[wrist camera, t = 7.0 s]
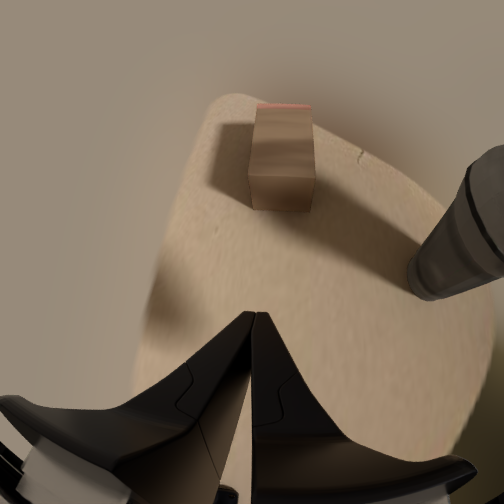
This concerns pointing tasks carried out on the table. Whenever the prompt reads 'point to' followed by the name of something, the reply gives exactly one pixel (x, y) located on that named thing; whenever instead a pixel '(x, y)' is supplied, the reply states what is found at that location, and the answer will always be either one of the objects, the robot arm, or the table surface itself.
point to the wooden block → (282, 158)
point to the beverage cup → (465, 236)
